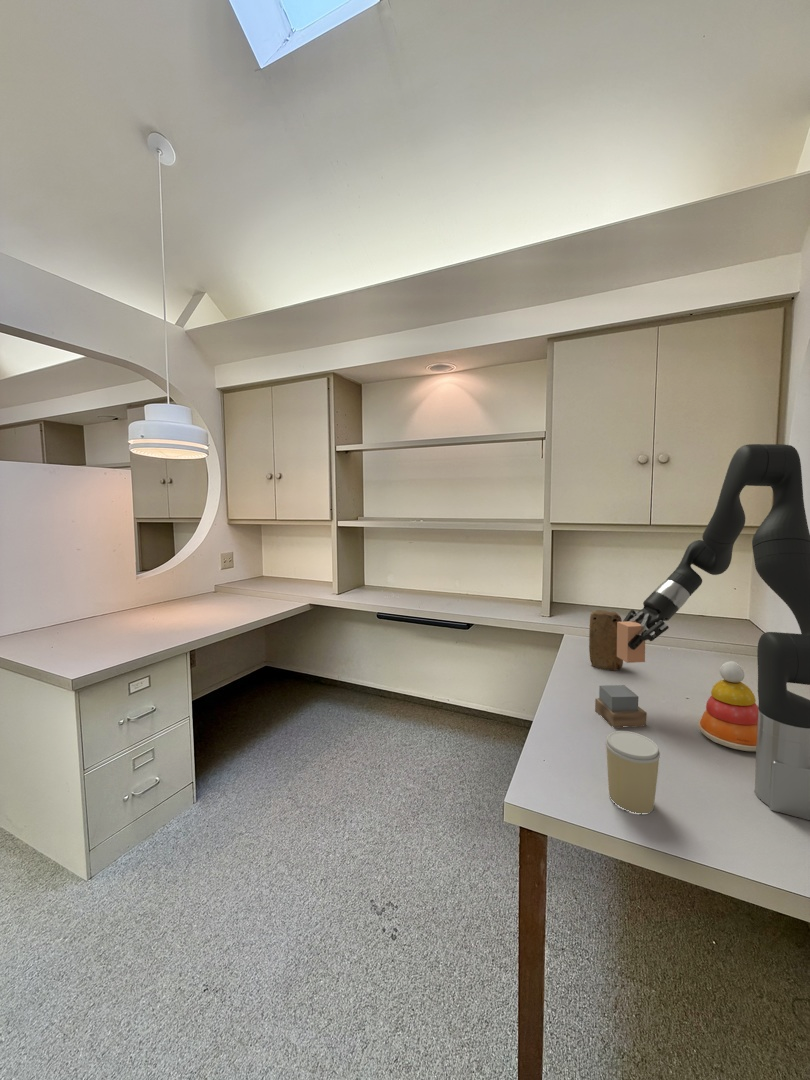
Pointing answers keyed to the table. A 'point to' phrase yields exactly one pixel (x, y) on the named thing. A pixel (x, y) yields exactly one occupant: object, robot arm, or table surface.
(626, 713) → the tower base
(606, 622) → the block
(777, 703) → the robot arm
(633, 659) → the pillar
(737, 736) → the stacking toy
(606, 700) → the tower top
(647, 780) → the coffee cup
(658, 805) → the table surface
